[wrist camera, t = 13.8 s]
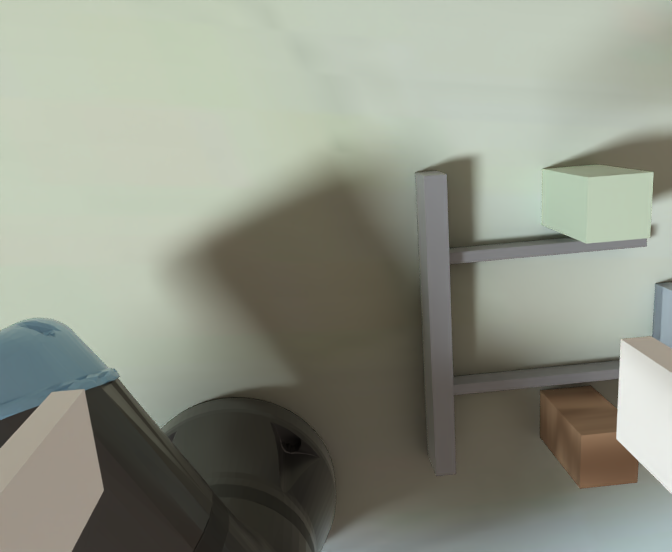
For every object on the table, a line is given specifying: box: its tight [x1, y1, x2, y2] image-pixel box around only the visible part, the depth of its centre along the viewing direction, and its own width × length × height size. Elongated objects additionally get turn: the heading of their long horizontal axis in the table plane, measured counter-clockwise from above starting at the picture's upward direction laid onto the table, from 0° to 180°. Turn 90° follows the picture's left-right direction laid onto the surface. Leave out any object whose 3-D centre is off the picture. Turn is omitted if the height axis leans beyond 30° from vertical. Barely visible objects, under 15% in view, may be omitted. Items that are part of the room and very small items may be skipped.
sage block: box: [541, 164, 654, 244], centre depth 40 cm, size 4×4×7 cm
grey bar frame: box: [415, 171, 647, 476], centre depth 44 cm, size 22×16×3 cm
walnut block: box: [540, 386, 638, 489], centre depth 44 cm, size 4×4×7 cm
